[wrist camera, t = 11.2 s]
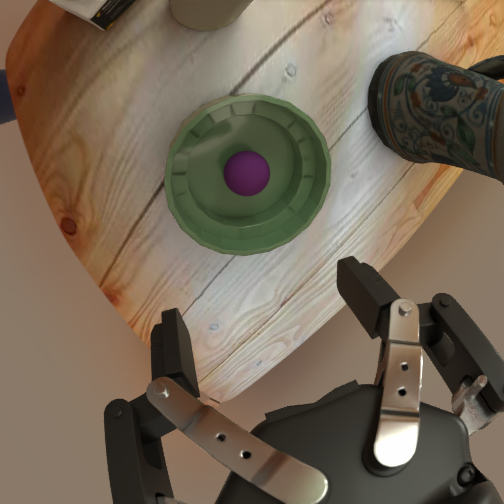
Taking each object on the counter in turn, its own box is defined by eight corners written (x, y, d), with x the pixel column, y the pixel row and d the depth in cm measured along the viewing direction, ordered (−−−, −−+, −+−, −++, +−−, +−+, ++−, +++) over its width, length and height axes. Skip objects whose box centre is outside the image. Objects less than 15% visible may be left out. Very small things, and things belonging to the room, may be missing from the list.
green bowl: (136, 167, 30) (128, 183, 25) (251, 64, 26) (266, 60, 22) (233, 253, 39) (242, 280, 34) (331, 171, 36) (355, 187, 31)
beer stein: (358, 152, 35) (515, 248, 15) (367, 18, 25) (544, 16, 4) (435, 160, 39) (556, 234, 18) (446, 52, 28) (582, 86, 8)
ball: (211, 166, 31) (217, 180, 27) (244, 137, 30) (255, 146, 26) (239, 195, 34) (248, 212, 30) (271, 168, 33) (285, 181, 29)
